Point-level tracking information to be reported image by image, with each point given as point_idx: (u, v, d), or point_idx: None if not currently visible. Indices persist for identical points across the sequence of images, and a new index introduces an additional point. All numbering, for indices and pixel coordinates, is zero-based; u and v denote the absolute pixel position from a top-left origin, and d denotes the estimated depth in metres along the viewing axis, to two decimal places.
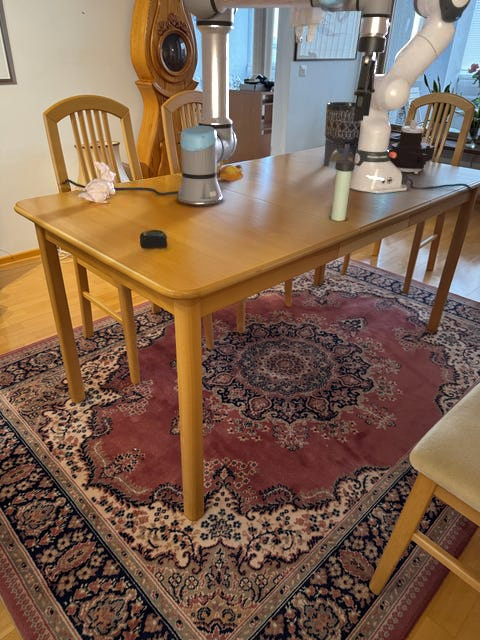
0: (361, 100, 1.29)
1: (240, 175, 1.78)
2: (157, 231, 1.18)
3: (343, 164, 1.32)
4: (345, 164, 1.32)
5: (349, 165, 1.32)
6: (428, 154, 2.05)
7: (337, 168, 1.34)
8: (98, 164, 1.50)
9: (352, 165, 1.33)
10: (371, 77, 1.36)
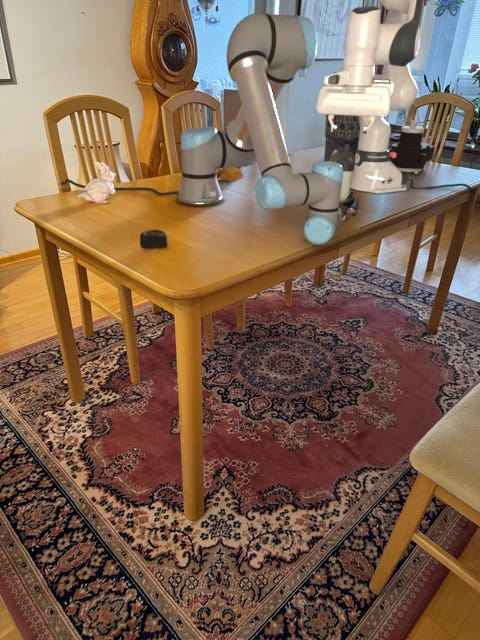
0: None
1: (240, 175, 1.78)
2: (157, 231, 1.18)
3: (343, 164, 1.32)
4: (345, 164, 1.32)
5: (349, 165, 1.32)
6: (428, 154, 2.05)
7: None
8: (98, 164, 1.50)
9: (352, 165, 1.33)
10: None
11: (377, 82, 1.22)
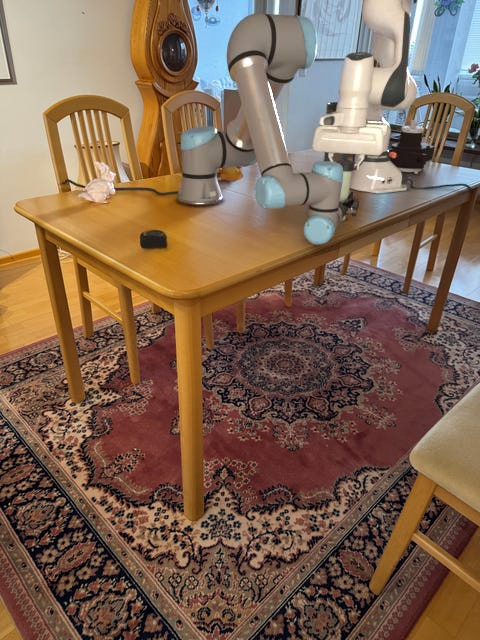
0: None
1: (240, 175, 1.78)
2: (157, 231, 1.18)
3: (343, 164, 1.32)
4: (345, 164, 1.32)
5: (349, 165, 1.32)
6: (428, 154, 2.05)
7: None
8: (98, 164, 1.50)
9: (352, 165, 1.33)
10: None
11: (371, 123, 1.27)
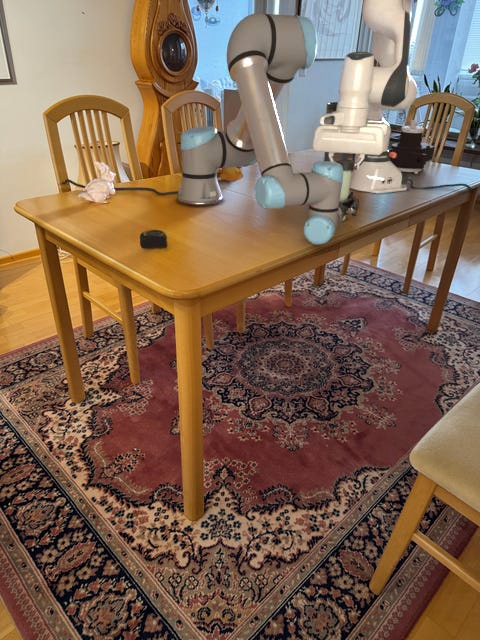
0: None
1: (240, 175, 1.78)
2: (157, 231, 1.18)
3: (352, 163, 1.32)
4: (353, 163, 1.32)
5: (354, 163, 1.34)
6: (428, 154, 2.05)
7: (345, 169, 1.32)
8: (98, 164, 1.50)
9: None
10: None
11: (371, 123, 1.27)
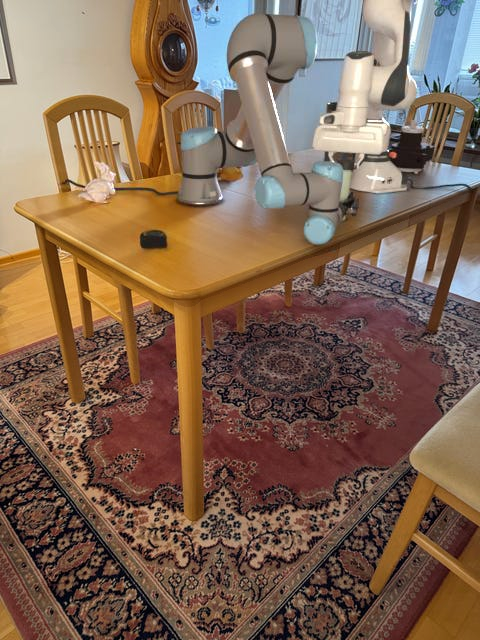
0: None
1: (240, 175, 1.78)
2: (157, 231, 1.18)
3: None
4: None
5: None
6: (428, 154, 2.05)
7: (353, 168, 1.33)
8: (98, 164, 1.50)
9: None
10: None
11: (371, 122, 1.27)
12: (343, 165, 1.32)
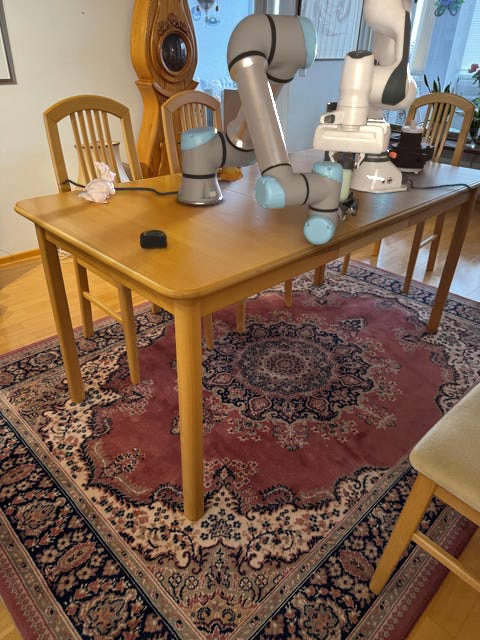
0: None
1: (240, 175, 1.78)
2: (157, 231, 1.18)
3: None
4: None
5: None
6: (428, 154, 2.05)
7: None
8: (98, 164, 1.50)
9: None
10: None
11: (371, 121, 1.27)
12: (351, 164, 1.32)
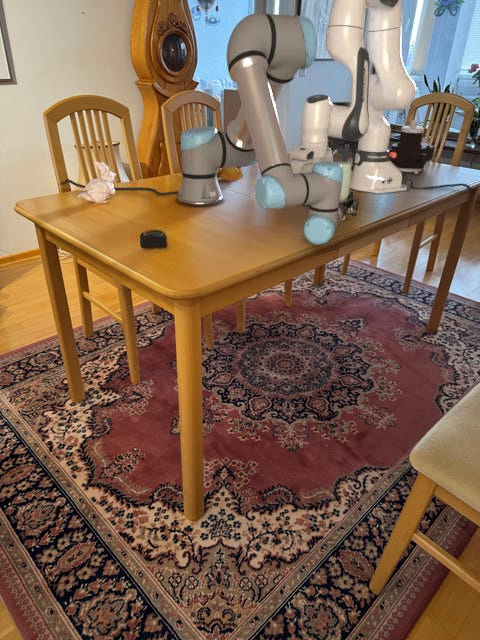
0: None
1: (240, 175, 1.78)
2: (157, 231, 1.18)
3: None
4: None
5: None
6: (428, 154, 2.05)
7: None
8: (98, 164, 1.50)
9: None
10: None
11: None
12: None
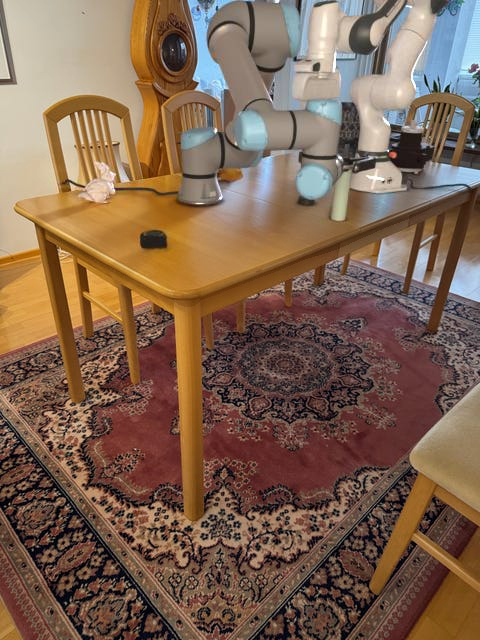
0: None
1: (240, 175, 1.78)
2: (157, 231, 1.18)
3: None
4: None
5: None
6: (428, 154, 2.05)
7: None
8: (98, 164, 1.50)
9: (298, 198, 1.56)
10: None
11: None
12: None
